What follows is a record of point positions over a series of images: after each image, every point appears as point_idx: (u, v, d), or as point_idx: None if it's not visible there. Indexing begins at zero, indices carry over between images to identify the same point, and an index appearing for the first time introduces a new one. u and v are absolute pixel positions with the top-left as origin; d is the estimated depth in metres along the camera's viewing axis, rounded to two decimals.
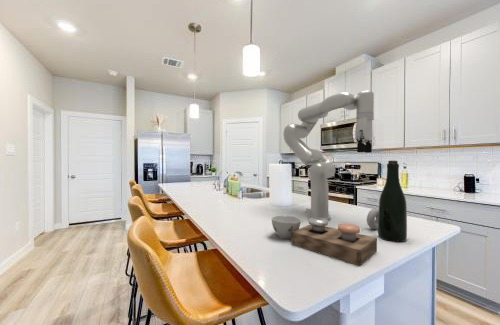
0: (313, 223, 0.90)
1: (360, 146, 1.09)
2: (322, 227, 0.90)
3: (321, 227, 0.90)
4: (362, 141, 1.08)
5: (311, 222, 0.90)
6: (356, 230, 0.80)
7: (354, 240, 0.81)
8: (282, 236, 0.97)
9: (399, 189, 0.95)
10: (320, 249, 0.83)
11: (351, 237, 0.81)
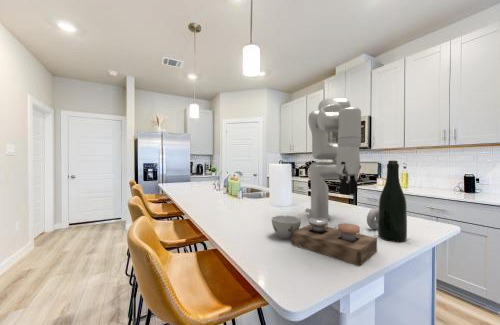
0: (313, 223, 0.90)
1: (344, 186, 0.80)
2: (322, 227, 0.90)
3: (321, 227, 0.90)
4: (346, 181, 0.79)
5: (311, 222, 0.90)
6: (356, 230, 0.80)
7: (354, 240, 0.81)
8: (282, 236, 0.97)
9: (399, 189, 0.95)
10: (320, 249, 0.83)
11: (351, 237, 0.81)
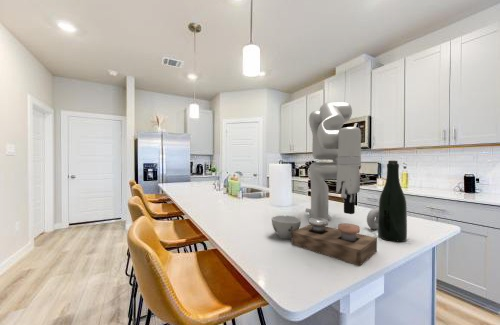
0: (313, 223, 0.90)
1: (347, 206, 0.82)
2: (322, 227, 0.90)
3: (321, 227, 0.90)
4: (350, 201, 0.81)
5: (311, 222, 0.90)
6: (356, 230, 0.80)
7: (354, 240, 0.81)
8: (282, 236, 0.97)
9: (399, 189, 0.95)
10: (320, 249, 0.83)
11: (351, 237, 0.81)
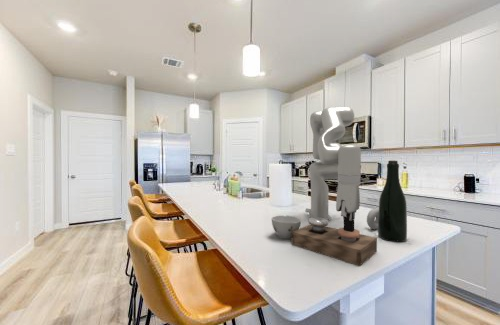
0: (313, 223, 0.90)
1: (347, 224, 0.82)
2: (322, 227, 0.90)
3: (321, 227, 0.90)
4: (349, 219, 0.81)
5: (311, 222, 0.90)
6: (356, 234, 0.80)
7: None
8: (282, 236, 0.97)
9: (399, 189, 0.95)
10: (320, 249, 0.83)
11: (350, 241, 0.81)
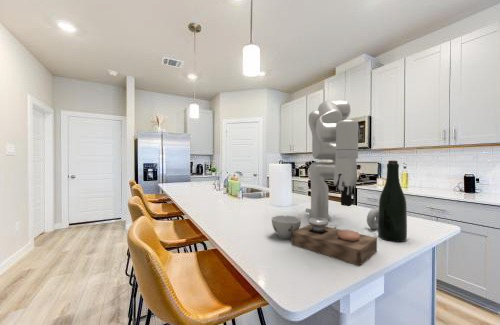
0: (313, 223, 0.90)
1: (344, 198, 0.83)
2: (322, 227, 0.90)
3: (321, 227, 0.90)
4: (347, 193, 0.82)
5: (311, 222, 0.90)
6: (356, 237, 0.80)
7: None
8: (282, 236, 0.97)
9: (399, 189, 0.95)
10: (320, 249, 0.83)
11: None
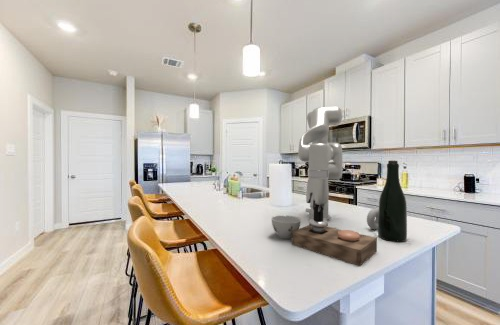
0: (313, 224, 0.90)
1: (316, 214, 0.91)
2: (322, 228, 0.90)
3: (321, 228, 0.90)
4: (318, 210, 0.90)
5: (311, 223, 0.90)
6: (356, 237, 0.80)
7: None
8: (282, 236, 0.97)
9: (399, 189, 0.95)
10: (320, 249, 0.83)
11: None
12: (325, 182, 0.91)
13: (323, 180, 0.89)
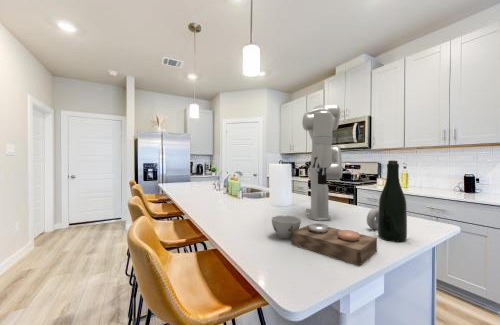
0: (313, 229, 0.90)
1: (320, 178, 0.98)
2: (322, 233, 0.90)
3: (321, 233, 0.90)
4: (322, 174, 0.97)
5: (311, 228, 0.90)
6: (356, 237, 0.80)
7: None
8: (282, 236, 0.97)
9: (399, 189, 0.95)
10: (320, 249, 0.83)
11: None
12: (328, 148, 0.97)
13: (327, 146, 0.96)
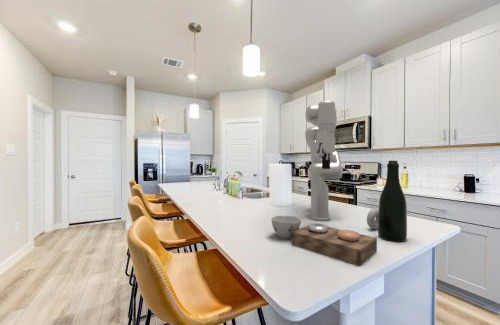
0: (313, 229, 0.90)
1: (324, 163, 1.05)
2: (322, 233, 0.90)
3: (321, 233, 0.90)
4: (326, 159, 1.04)
5: (311, 228, 0.90)
6: (356, 237, 0.80)
7: None
8: (282, 236, 0.97)
9: (399, 189, 0.95)
10: (320, 249, 0.83)
11: None
12: (332, 135, 1.05)
13: (330, 132, 1.04)
